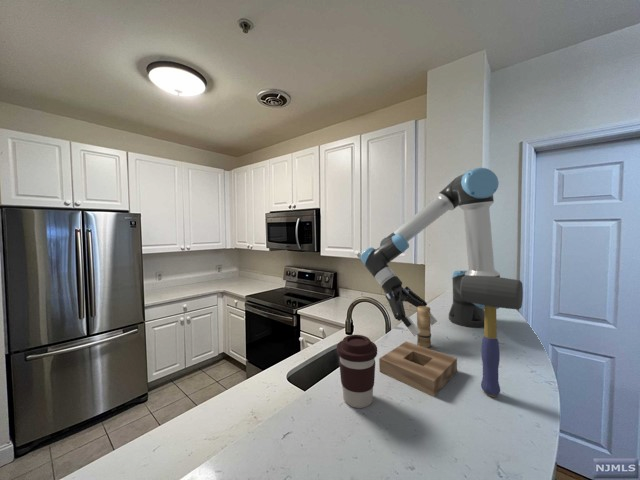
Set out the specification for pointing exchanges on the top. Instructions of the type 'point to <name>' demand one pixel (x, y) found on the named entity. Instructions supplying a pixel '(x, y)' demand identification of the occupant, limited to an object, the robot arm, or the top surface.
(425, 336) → the oak peg
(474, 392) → the top surface
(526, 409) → the top surface
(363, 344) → the coffee cup
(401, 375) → the walnut socket block
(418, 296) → the robot arm
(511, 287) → the rubber mallet
